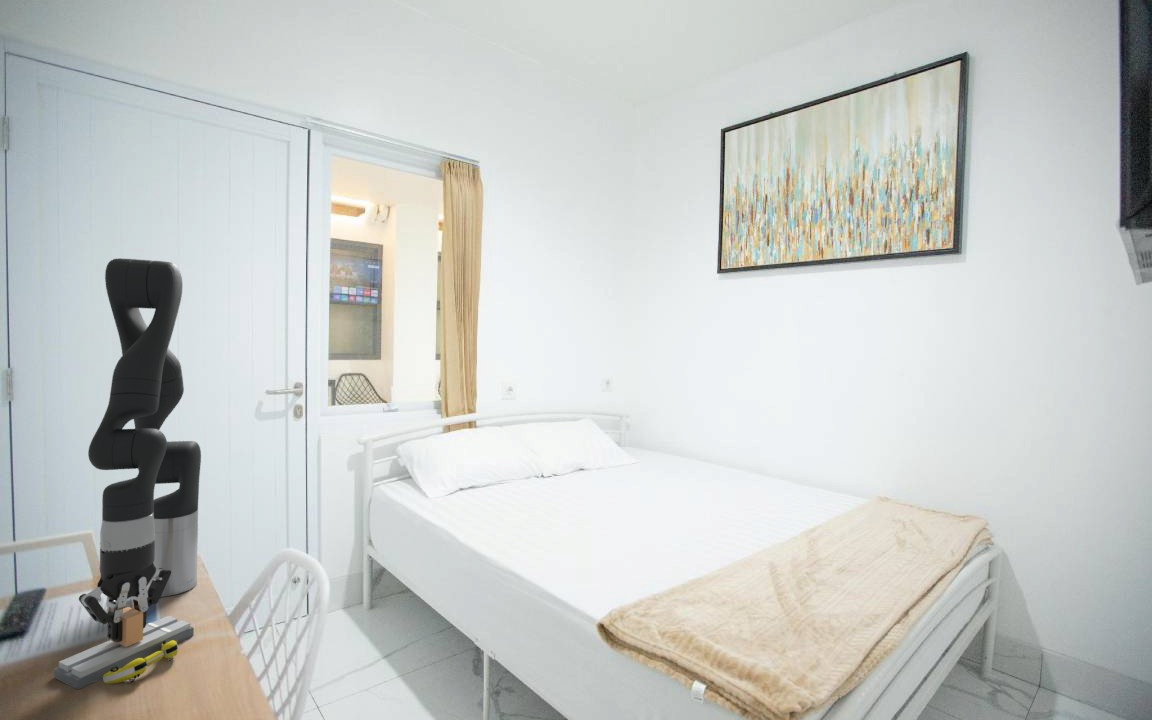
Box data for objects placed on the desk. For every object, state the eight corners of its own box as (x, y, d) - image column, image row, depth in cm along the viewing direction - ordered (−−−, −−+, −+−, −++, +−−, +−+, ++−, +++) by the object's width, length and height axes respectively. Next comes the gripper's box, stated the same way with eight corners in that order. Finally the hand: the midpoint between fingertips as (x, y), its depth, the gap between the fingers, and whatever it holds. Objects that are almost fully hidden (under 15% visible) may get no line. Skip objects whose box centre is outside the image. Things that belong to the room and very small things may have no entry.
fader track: (77, 689, 87) (77, 673, 87) (53, 677, 90) (54, 662, 90) (193, 635, 104) (193, 621, 104) (170, 626, 107) (170, 613, 106)
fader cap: (126, 653, 95) (126, 619, 94) (111, 646, 96) (111, 613, 96) (142, 645, 97) (143, 612, 97) (128, 639, 99) (128, 606, 98)
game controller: (132, 686, 87) (126, 664, 88) (105, 692, 89) (100, 671, 89) (191, 652, 97) (185, 633, 97) (166, 659, 99) (161, 640, 99)
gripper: (158, 525, 104) (157, 614, 104) (67, 550, 91) (66, 651, 92) (183, 532, 101) (181, 623, 102) (92, 558, 88) (91, 662, 89)
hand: (127, 635), depth 97 cm, fingers closed on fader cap, 2 cm apart
